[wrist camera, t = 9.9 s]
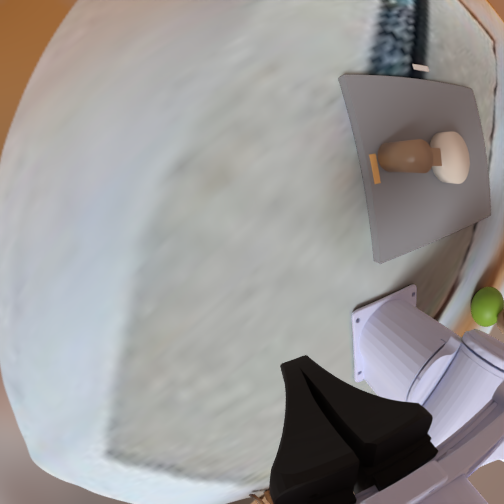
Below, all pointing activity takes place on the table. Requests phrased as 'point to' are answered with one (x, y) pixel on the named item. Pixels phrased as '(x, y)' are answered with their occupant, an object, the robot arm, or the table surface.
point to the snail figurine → (488, 308)
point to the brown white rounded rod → (428, 157)
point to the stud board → (415, 184)
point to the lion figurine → (258, 500)
